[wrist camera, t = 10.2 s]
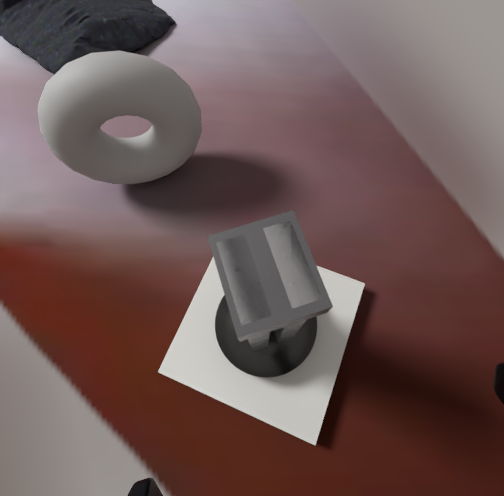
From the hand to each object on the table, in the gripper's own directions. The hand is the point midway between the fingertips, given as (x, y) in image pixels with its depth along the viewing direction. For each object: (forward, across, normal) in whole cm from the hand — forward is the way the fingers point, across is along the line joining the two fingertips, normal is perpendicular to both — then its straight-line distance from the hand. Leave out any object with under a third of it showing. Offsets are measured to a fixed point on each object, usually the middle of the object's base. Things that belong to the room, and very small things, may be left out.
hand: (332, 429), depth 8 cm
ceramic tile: (+12, 0, +6) cm, 14 cm away
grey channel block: (+12, 0, +5) cm, 13 cm away
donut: (+23, +6, -4) cm, 24 cm away
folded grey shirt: (+39, +11, -19) cm, 45 cm away
